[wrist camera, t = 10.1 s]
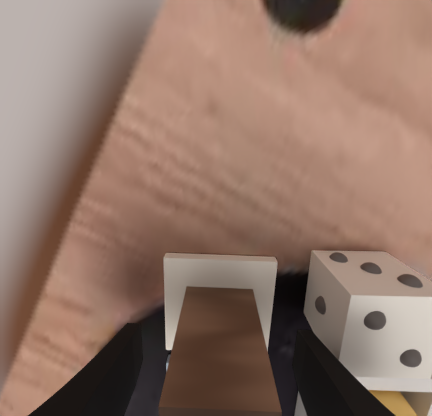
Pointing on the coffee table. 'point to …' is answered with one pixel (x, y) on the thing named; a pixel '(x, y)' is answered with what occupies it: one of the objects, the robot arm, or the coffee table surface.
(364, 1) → the coffee table surface
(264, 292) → the tile
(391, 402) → the dome button
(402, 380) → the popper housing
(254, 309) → the brown rectangular block
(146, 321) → the coffee table surface
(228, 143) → the coffee table surface
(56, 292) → the coffee table surface
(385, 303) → the die
